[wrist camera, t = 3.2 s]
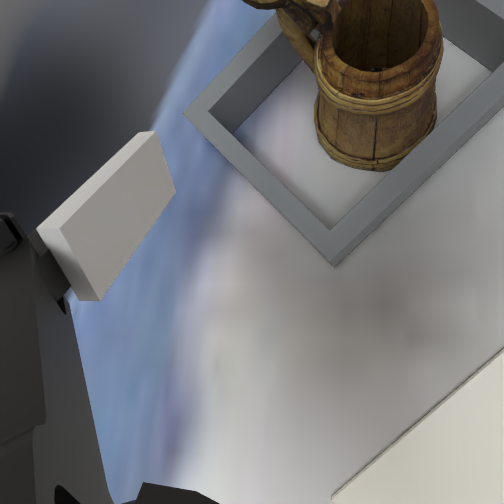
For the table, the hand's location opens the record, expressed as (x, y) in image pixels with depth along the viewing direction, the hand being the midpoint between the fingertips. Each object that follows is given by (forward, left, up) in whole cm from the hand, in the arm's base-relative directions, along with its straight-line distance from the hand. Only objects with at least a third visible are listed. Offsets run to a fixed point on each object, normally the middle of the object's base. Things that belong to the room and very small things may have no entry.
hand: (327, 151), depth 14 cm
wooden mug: (-7, -7, -18) cm, 20 cm away
